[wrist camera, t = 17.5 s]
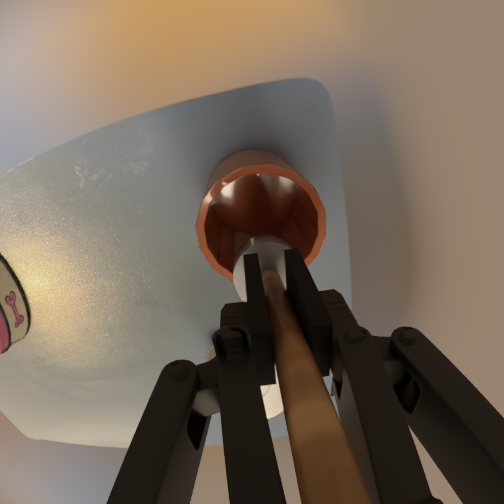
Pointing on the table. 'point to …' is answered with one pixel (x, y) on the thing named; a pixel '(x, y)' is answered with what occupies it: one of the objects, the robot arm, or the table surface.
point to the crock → (257, 208)
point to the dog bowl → (11, 309)
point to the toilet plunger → (302, 389)
